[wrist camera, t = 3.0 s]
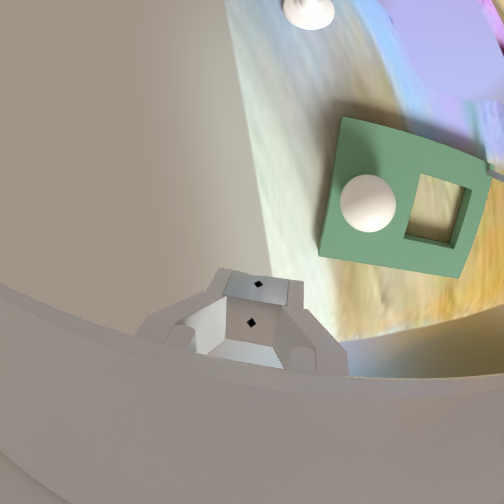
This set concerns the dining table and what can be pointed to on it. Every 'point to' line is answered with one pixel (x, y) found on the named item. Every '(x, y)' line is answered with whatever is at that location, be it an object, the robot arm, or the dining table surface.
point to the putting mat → (403, 198)
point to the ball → (368, 203)
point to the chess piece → (309, 13)
